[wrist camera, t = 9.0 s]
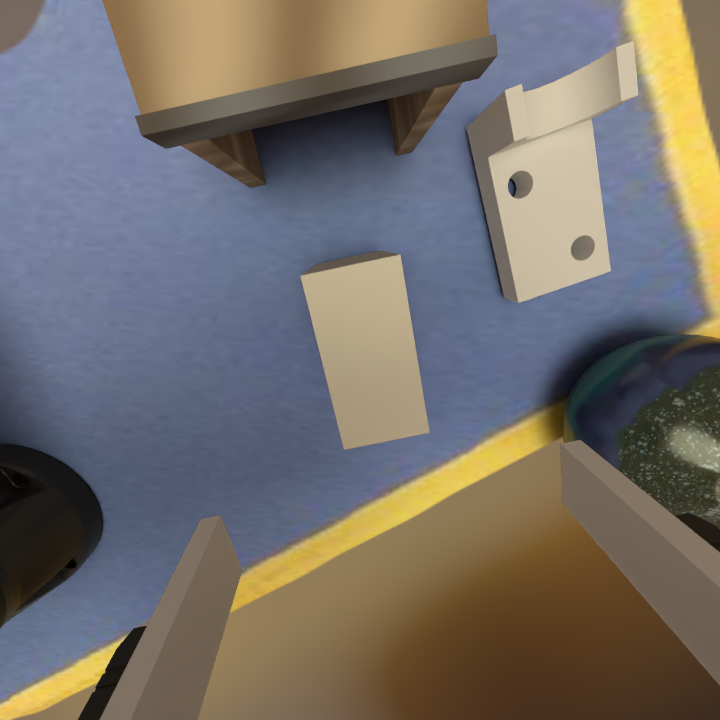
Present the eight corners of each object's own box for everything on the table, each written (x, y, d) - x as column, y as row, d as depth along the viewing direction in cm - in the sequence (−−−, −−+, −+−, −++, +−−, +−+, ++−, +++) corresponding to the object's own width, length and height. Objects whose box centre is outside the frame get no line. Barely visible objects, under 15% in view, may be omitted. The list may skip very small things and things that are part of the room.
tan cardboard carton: (343, 377, 32) (343, 449, 21) (317, 263, 29) (299, 275, 18) (399, 365, 32) (430, 432, 21) (378, 250, 29) (401, 254, 18)
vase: (702, 443, 36) (897, 551, 23) (550, 489, 37) (659, 618, 24) (695, 295, 31) (934, 330, 19) (522, 353, 32) (637, 423, 20)
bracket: (462, 131, 27) (504, 90, 20) (555, 95, 27) (633, 40, 19) (499, 296, 31) (546, 312, 24) (581, 268, 30) (654, 275, 23)
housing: (250, 194, 27) (141, 135, 13) (207, 36, 24) (-3, -284, 10) (414, 158, 27) (497, 55, 12) (390, -7, 24) (464, -403, 9)
